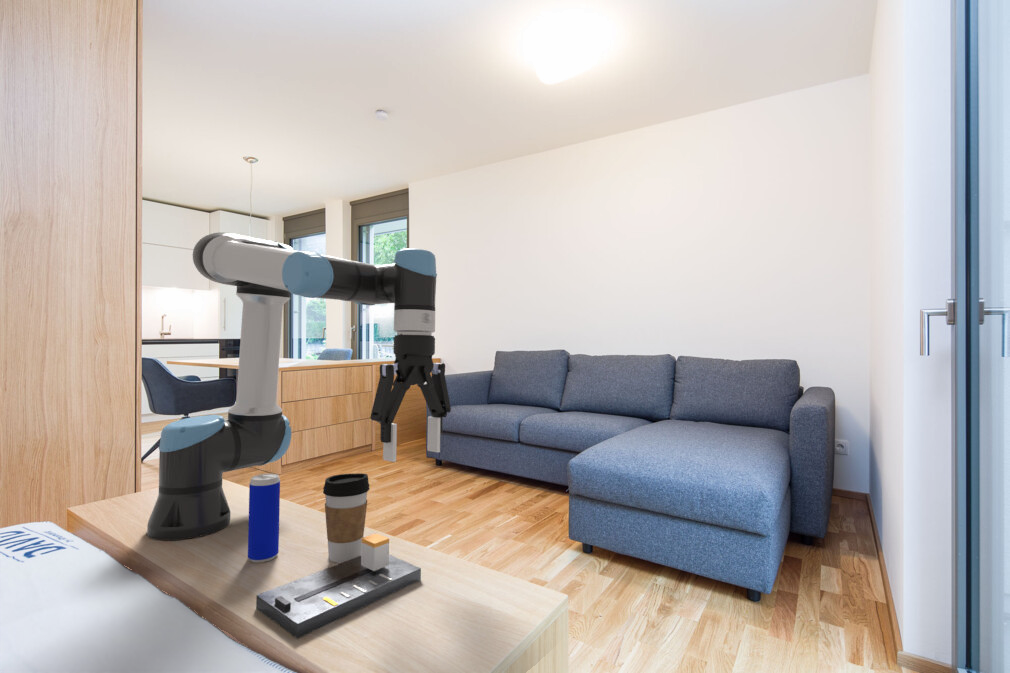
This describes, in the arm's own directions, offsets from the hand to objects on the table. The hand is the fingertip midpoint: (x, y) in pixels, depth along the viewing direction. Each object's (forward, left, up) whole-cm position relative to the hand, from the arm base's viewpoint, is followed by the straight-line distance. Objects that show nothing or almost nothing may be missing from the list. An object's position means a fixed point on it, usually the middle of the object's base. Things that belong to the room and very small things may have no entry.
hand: (412, 455), depth 90 cm
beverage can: (-23, -16, -20) cm, 34 cm away
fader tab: (0, -8, -17) cm, 19 cm away
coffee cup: (-12, -6, -20) cm, 24 cm away
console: (0, -14, -20) cm, 24 cm away
